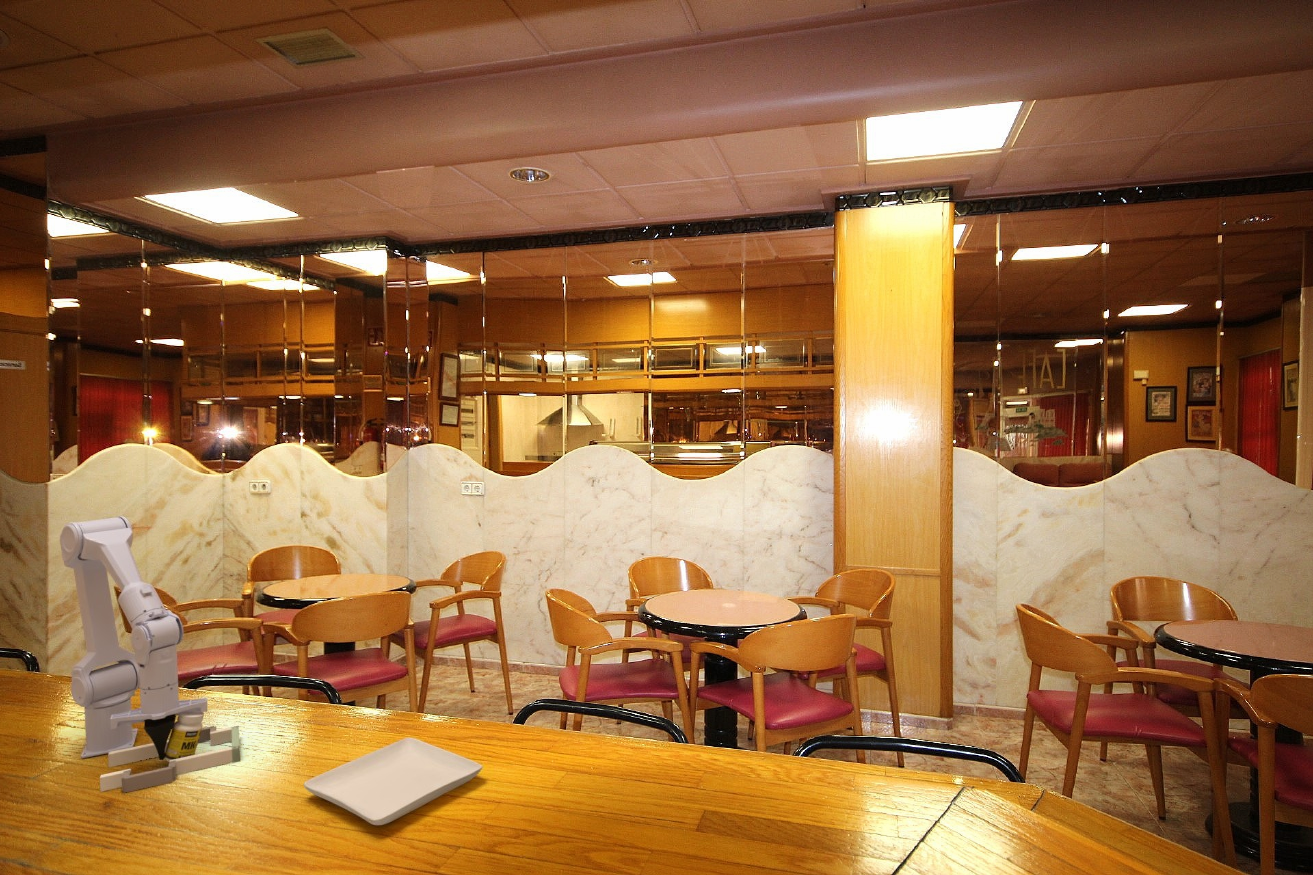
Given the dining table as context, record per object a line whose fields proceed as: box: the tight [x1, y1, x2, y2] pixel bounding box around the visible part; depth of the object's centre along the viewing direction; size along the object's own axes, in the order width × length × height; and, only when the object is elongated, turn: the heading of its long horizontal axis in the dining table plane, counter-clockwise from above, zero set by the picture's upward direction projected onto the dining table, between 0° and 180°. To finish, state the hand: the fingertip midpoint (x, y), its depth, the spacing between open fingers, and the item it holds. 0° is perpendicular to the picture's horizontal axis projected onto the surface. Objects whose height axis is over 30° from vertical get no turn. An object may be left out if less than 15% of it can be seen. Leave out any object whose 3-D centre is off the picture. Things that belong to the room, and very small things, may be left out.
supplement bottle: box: [163, 711, 205, 763], centre depth 135 cm, size 5×5×8 cm
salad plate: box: [303, 737, 484, 826], centre depth 123 cm, size 21×21×3 cm
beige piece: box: [99, 725, 241, 794], centre depth 134 cm, size 17×21×2 cm
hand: (162, 757), depth 133 cm, fingers closed, pressing on supplement bottle
